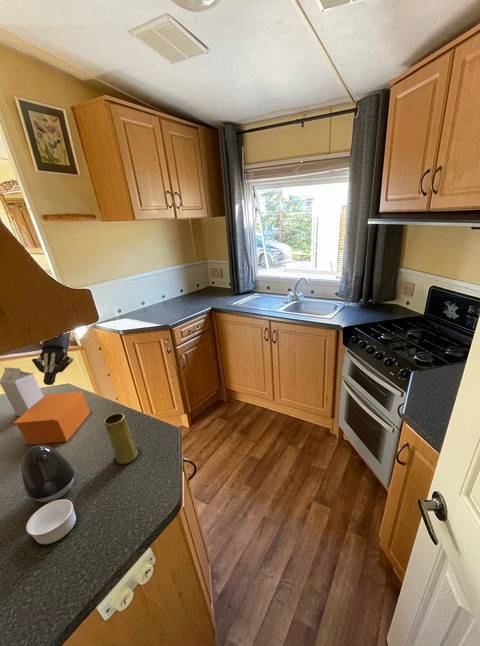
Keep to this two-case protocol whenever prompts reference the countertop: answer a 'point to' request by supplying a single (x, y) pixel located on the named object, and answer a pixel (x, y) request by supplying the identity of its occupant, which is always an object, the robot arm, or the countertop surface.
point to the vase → (120, 438)
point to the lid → (48, 408)
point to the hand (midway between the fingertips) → (48, 384)
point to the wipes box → (57, 425)
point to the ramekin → (52, 521)
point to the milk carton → (20, 389)
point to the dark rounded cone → (46, 473)
